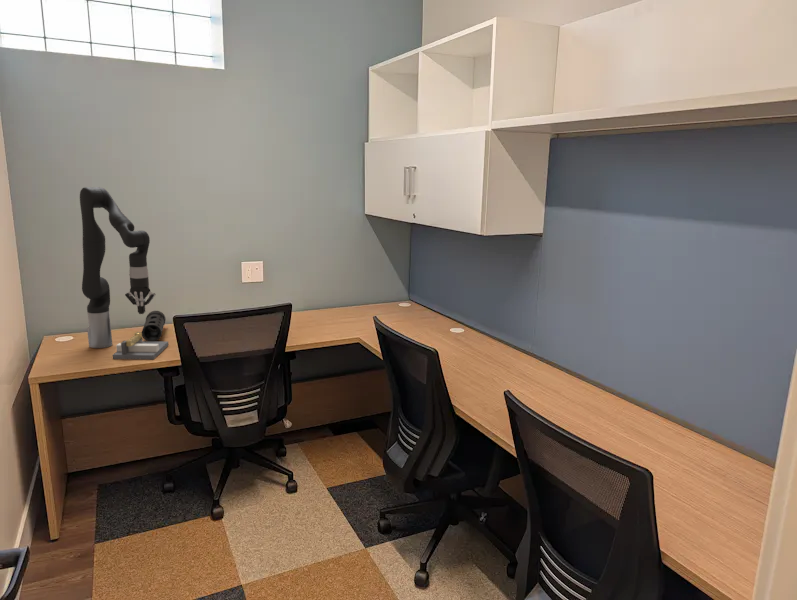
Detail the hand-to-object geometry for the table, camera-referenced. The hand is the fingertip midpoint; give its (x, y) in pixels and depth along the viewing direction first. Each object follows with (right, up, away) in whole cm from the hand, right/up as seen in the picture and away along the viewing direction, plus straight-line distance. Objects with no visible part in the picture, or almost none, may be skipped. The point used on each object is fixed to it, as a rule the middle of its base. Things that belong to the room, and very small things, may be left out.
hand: (141, 313), depth 254 cm
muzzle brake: (-9, -12, +36) cm, 39 cm away
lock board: (-5, -18, +11) cm, 22 cm away
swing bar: (-7, -13, +7) cm, 17 cm away
